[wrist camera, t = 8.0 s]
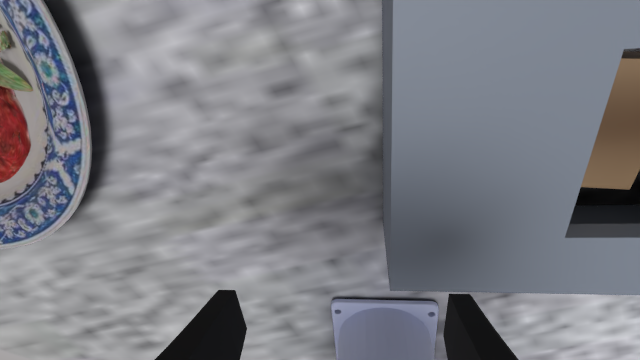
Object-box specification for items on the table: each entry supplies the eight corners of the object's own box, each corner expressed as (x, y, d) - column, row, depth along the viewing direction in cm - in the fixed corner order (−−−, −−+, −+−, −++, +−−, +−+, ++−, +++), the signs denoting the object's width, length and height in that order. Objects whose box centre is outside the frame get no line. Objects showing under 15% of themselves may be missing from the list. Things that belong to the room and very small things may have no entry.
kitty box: (735, 217, 19) (881, 299, 13) (383, 221, 22) (390, 290, 16) (915, -88, 12) (1328, -160, 7) (382, -26, 15) (393, -45, 10)
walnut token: (591, 163, 18) (629, 189, 16) (517, 160, 19) (542, 184, 16) (640, 51, 16) (695, 59, 13) (551, 49, 16) (589, 57, 13)
